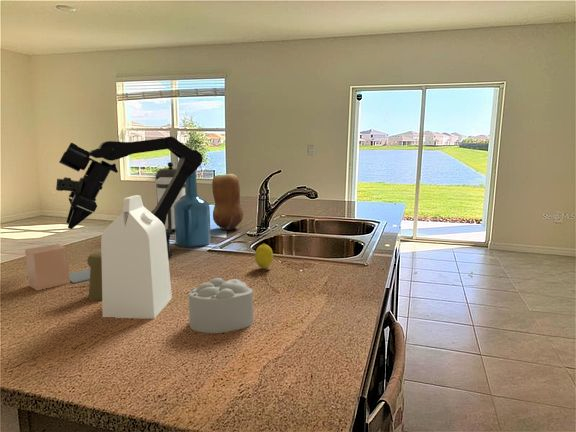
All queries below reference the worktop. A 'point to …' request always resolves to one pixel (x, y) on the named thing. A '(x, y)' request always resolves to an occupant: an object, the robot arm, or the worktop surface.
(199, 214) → the wine bottle
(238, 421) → the worktop surface
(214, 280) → the lumpy-topped squat cylinder
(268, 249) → the lemon
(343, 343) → the worktop surface
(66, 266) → the pink rectangular block
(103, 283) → the milk
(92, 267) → the cork
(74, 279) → the coaster
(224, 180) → the butternut squash
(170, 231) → the coffee press
